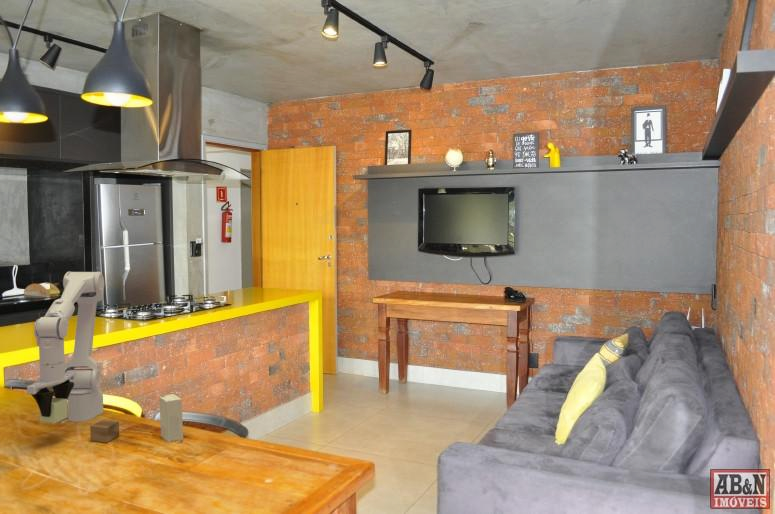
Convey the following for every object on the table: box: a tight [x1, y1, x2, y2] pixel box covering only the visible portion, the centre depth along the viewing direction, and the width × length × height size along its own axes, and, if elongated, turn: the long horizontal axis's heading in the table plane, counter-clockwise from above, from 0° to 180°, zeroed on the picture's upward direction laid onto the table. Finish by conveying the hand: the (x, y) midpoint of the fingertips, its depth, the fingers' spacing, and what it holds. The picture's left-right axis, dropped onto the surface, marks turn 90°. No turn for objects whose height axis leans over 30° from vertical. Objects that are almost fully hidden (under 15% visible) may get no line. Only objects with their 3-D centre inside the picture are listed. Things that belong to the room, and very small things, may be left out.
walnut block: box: [89, 419, 120, 443], centre depth 164 cm, size 5×5×4 cm
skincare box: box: [158, 393, 184, 445], centre depth 165 cm, size 6×4×12 cm
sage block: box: [39, 396, 68, 424], centre depth 160 cm, size 4×4×5 cm
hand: (53, 413), depth 160 cm, fingers closed on sage block, 4 cm apart
